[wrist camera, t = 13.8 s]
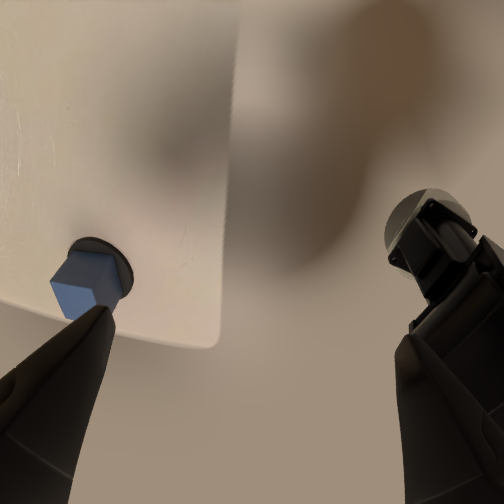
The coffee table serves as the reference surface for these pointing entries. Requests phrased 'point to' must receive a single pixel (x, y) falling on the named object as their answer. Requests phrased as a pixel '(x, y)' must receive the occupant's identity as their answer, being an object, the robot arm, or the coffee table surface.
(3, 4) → the coffee table surface
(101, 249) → the coaster
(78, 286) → the block
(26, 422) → the robot arm
